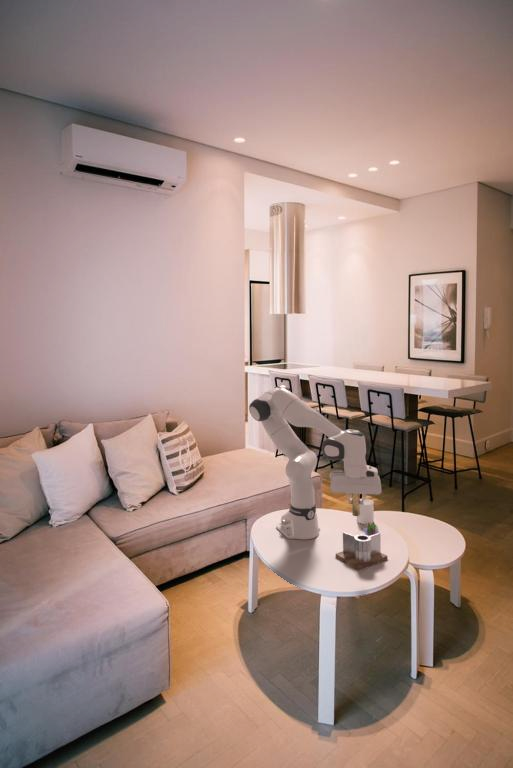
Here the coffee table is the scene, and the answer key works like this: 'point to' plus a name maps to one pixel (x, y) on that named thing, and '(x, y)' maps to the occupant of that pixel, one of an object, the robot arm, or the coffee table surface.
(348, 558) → the base board
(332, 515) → the coffee table surface
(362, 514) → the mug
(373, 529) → the geometric puzzle
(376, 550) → the grey socket block
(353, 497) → the pin
